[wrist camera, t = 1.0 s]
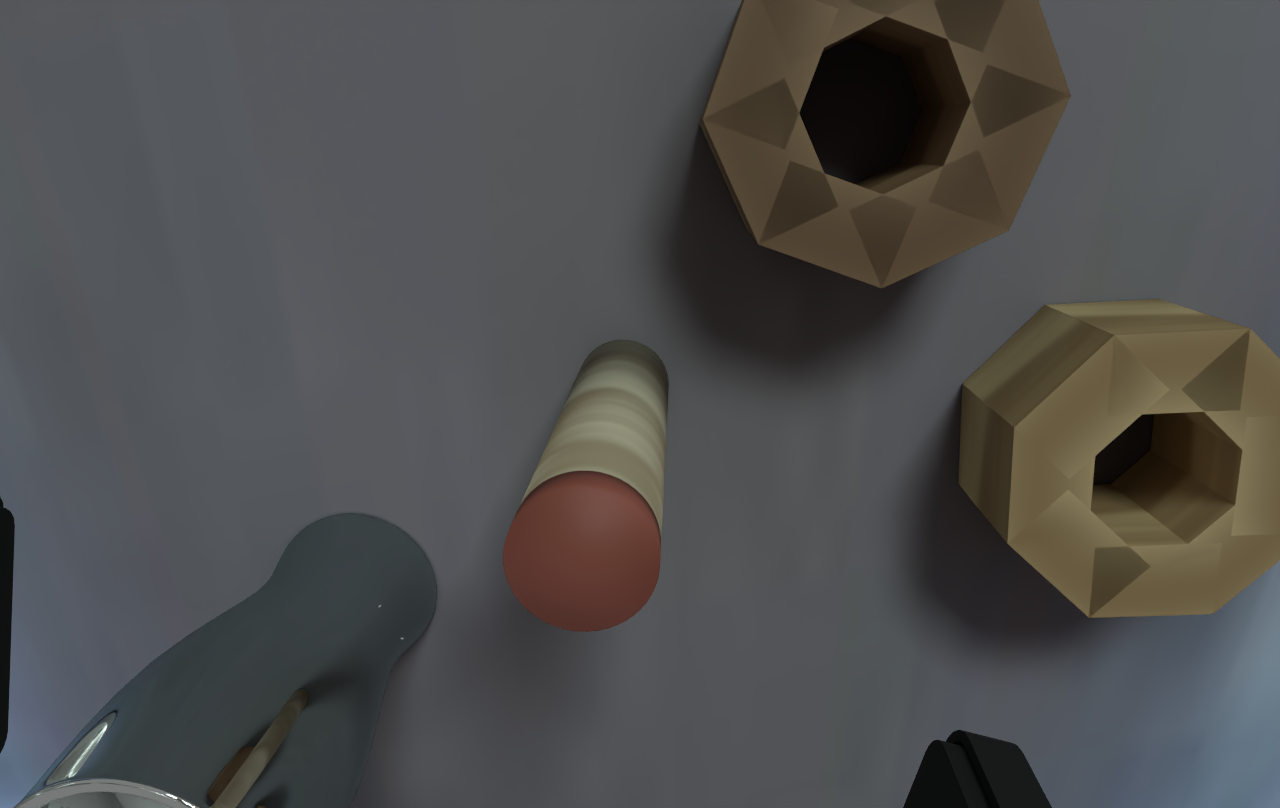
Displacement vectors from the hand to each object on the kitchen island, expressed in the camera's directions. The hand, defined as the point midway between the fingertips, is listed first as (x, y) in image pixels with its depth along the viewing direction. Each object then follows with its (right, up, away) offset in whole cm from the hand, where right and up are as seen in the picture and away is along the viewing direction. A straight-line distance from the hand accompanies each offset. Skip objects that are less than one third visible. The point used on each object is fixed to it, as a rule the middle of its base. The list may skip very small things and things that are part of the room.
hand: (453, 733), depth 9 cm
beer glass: (-9, -4, +25) cm, 27 cm away
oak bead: (+18, +2, +22) cm, 29 cm away
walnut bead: (+9, +13, +20) cm, 25 cm away
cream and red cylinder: (+1, +4, +23) cm, 23 cm away
